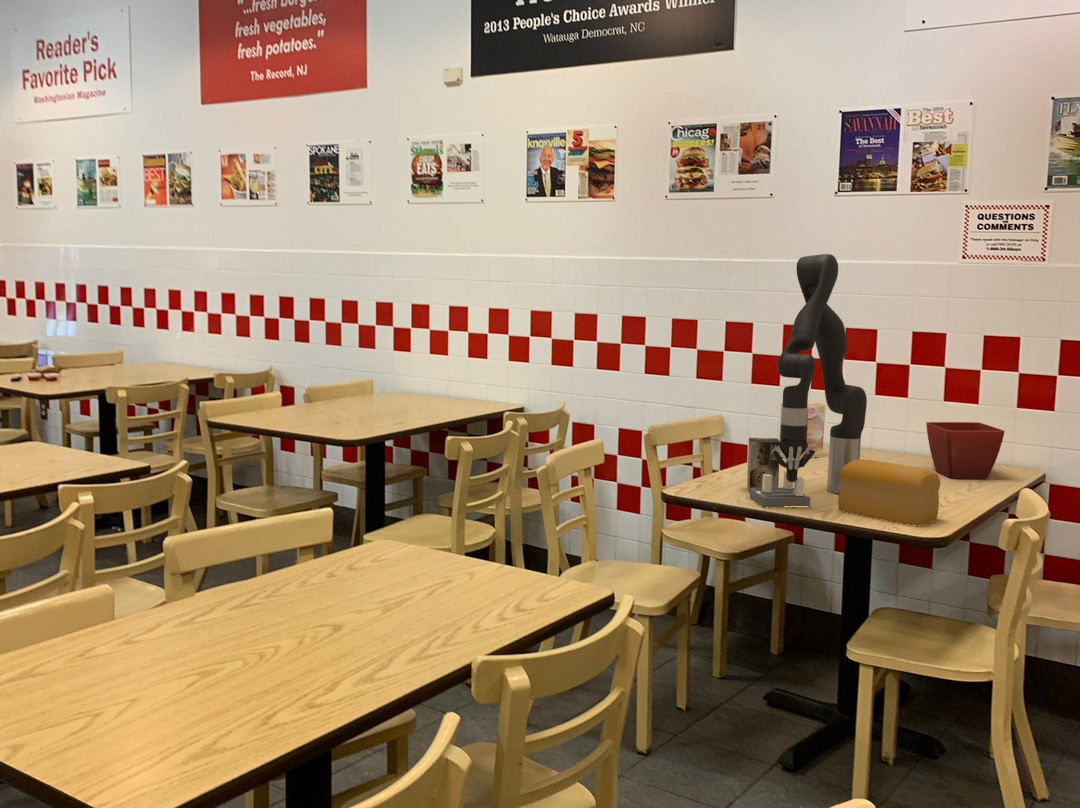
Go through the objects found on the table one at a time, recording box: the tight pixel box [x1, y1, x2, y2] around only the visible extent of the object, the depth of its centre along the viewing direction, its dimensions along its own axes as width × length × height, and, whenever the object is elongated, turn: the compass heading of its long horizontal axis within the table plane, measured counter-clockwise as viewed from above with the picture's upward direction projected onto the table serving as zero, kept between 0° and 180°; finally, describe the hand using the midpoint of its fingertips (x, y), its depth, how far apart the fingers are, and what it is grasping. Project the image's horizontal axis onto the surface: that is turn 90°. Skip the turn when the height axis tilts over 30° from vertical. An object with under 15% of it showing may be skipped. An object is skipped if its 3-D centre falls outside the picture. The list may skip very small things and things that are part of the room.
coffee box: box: [746, 437, 780, 492], centre depth 327 cm, size 9×6×16 cm
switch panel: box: [749, 487, 812, 509], centre depth 312 cm, size 14×13×3 cm
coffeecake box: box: [778, 402, 827, 459], centre depth 383 cm, size 15×7×20 cm, turn 115°
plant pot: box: [926, 421, 1006, 480], centre depth 356 cm, size 19×19×17 cm
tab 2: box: [782, 470, 794, 489], centre depth 316 cm, size 2×3×5 cm
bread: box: [837, 458, 941, 527], centre depth 298 cm, size 24×13×15 cm, turn 45°
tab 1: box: [762, 474, 772, 493], centre depth 311 cm, size 2×3×5 cm
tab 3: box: [793, 476, 805, 496], centre depth 307 cm, size 2×3×5 cm
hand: (791, 481), depth 307 cm, fingers closed
